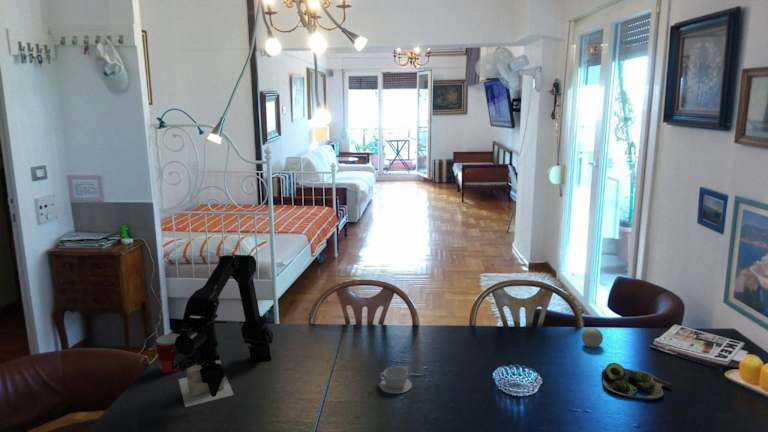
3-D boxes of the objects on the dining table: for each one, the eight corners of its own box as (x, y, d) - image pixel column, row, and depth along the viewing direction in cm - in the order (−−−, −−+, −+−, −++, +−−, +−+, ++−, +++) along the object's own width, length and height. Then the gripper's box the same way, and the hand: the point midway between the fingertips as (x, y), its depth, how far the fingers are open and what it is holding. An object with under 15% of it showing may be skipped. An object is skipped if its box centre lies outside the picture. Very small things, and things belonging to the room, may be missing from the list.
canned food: (176, 375, 179) (172, 344, 177) (154, 373, 181) (150, 342, 178) (189, 364, 186) (185, 334, 184) (168, 362, 188) (164, 332, 185)
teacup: (415, 380, 172) (415, 367, 171) (406, 397, 163) (406, 383, 162) (385, 376, 176) (385, 362, 175) (374, 392, 166) (374, 378, 165)
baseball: (606, 346, 191) (608, 329, 190) (593, 352, 187) (595, 334, 186) (590, 339, 197) (591, 322, 195) (577, 345, 193) (578, 327, 191)
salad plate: (665, 376, 172) (667, 362, 171) (676, 407, 155) (678, 392, 154) (599, 368, 177) (600, 355, 176) (603, 397, 161) (604, 383, 160)
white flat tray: (223, 369, 182) (222, 368, 182) (234, 395, 166) (233, 394, 166) (178, 380, 176) (178, 379, 176) (185, 408, 160) (185, 407, 160)
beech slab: (222, 383, 172) (219, 360, 171) (224, 389, 169) (221, 364, 168) (188, 392, 168) (186, 367, 166) (190, 397, 165) (187, 372, 163)
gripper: (171, 331, 158) (177, 380, 162) (179, 359, 142) (185, 412, 145) (211, 324, 163) (216, 371, 166) (223, 349, 147) (228, 401, 150)
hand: (211, 388), depth 157 cm, fingers open, 9 cm apart
